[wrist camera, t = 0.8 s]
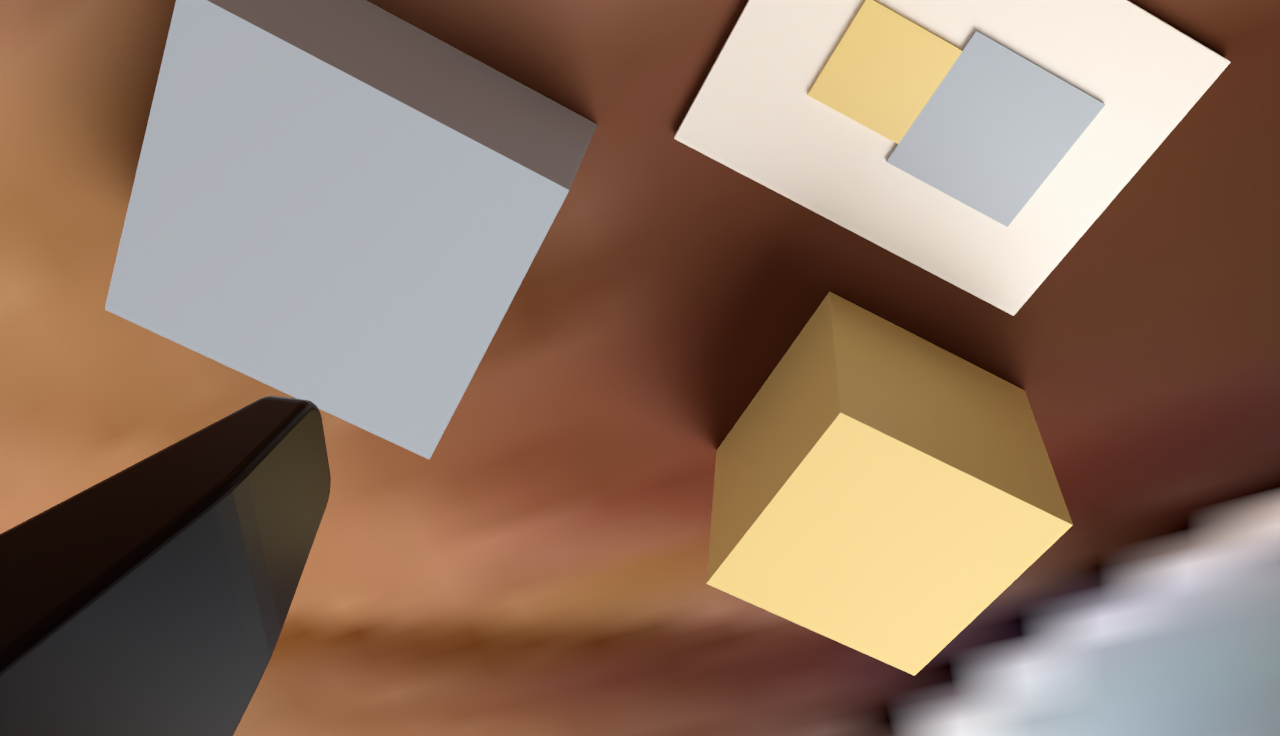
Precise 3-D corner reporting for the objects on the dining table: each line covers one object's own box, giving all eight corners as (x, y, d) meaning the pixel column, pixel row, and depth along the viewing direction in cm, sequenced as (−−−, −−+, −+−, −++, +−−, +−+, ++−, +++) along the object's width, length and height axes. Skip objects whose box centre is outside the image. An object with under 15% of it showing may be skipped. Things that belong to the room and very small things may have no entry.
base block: (599, 120, 20) (569, 190, 17) (471, 367, 24) (429, 459, 21) (270, -58, 19) (179, -15, 16) (190, 231, 23) (104, 309, 20)
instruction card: (1226, 58, 18) (1233, 63, 18) (1012, 311, 21) (1014, 318, 21) (841, -171, 17) (841, -169, 16) (674, 135, 20) (673, 140, 20)
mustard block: (1023, 387, 22) (1073, 525, 19) (893, 530, 25) (914, 676, 21) (828, 288, 22) (840, 412, 18) (716, 447, 24) (706, 584, 21)
